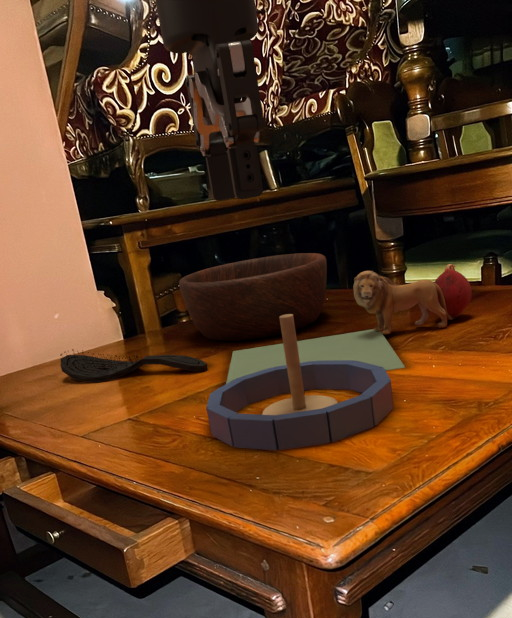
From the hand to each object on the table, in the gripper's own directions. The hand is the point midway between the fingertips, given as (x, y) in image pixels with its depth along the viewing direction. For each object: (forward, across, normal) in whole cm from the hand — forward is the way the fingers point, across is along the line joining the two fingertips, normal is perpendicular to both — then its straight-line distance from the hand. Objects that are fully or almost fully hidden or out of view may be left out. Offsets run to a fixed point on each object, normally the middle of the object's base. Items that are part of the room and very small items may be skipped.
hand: (236, 198), depth 58 cm
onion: (+23, +32, -37) cm, 54 cm away
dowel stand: (+23, +6, -5) cm, 24 cm away
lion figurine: (+22, +30, -28) cm, 47 cm away
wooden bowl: (+23, +56, -14) cm, 62 cm away
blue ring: (+23, +6, -5) cm, 24 cm away
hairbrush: (+23, +43, +10) cm, 50 cm away
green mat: (+23, +27, -13) cm, 37 cm away
